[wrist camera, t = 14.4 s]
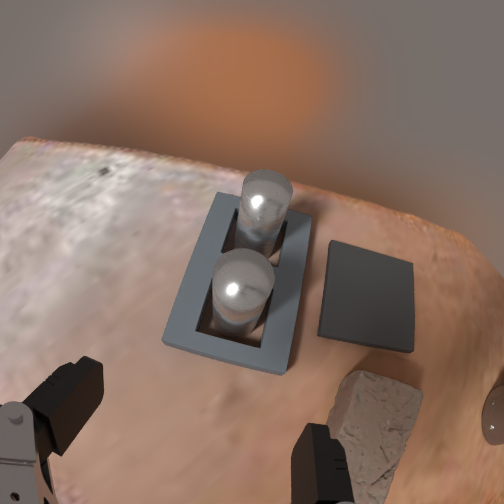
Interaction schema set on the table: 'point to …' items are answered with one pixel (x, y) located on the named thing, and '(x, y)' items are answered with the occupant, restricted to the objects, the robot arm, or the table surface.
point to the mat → (368, 299)
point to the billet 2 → (240, 291)
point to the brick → (373, 430)
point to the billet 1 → (262, 210)
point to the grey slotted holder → (281, 297)
